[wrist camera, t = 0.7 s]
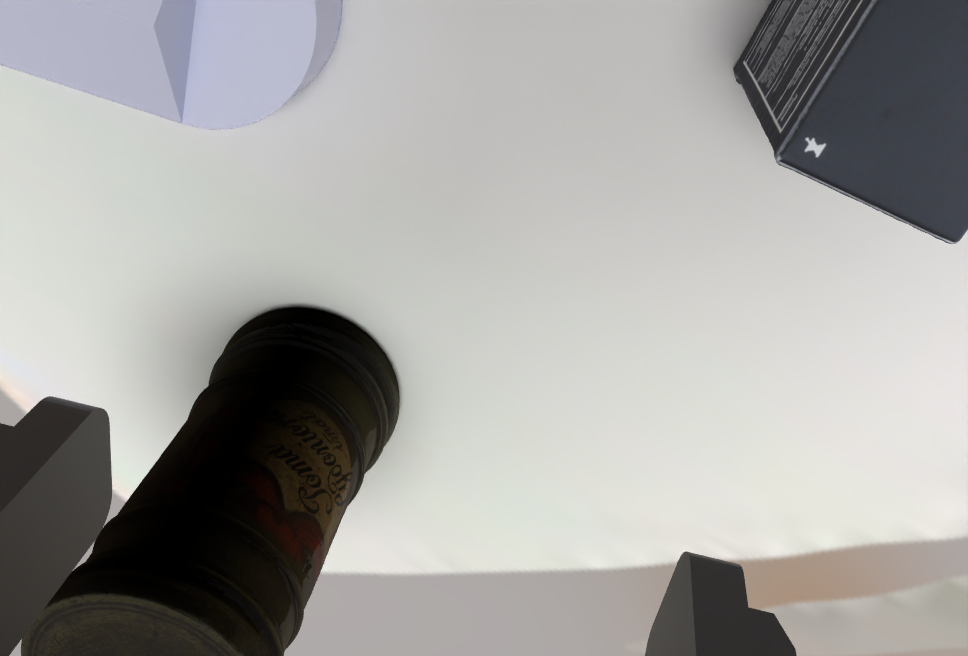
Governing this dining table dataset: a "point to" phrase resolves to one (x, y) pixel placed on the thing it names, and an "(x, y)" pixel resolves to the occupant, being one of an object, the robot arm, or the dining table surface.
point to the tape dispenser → (175, 52)
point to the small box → (869, 102)
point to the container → (235, 501)
